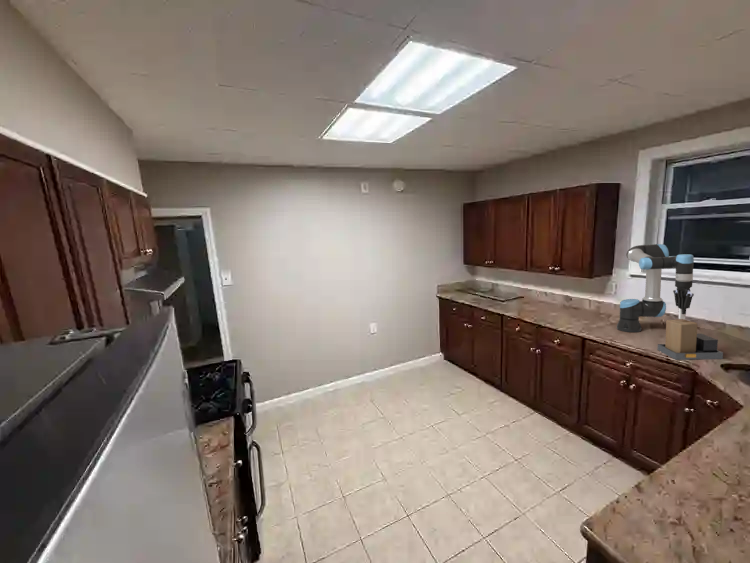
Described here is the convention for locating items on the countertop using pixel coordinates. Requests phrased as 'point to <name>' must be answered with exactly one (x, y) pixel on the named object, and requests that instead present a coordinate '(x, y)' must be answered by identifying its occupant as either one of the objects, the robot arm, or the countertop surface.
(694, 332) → the wooden block
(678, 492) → the countertop surface
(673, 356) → the rack
